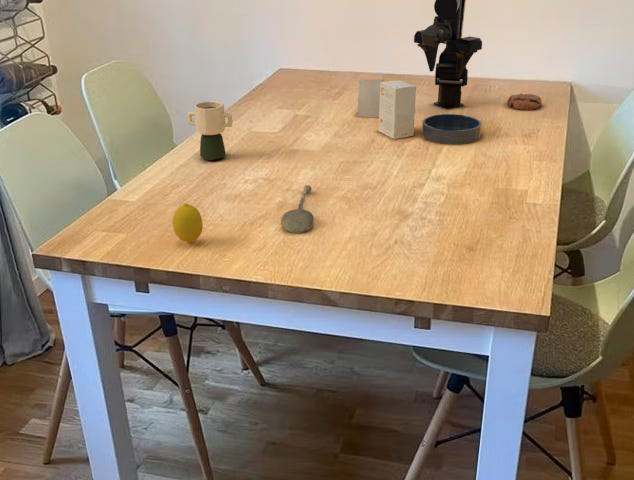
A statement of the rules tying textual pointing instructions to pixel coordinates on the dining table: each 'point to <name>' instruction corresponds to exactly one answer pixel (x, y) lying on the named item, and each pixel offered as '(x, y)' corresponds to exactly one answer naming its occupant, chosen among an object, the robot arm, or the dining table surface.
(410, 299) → the dining table surface
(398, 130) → the small box
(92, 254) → the dining table surface
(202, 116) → the character mug
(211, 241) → the dining table surface
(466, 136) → the dish
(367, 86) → the grey rectangular block
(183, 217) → the lemon
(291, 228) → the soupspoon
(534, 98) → the cookie
